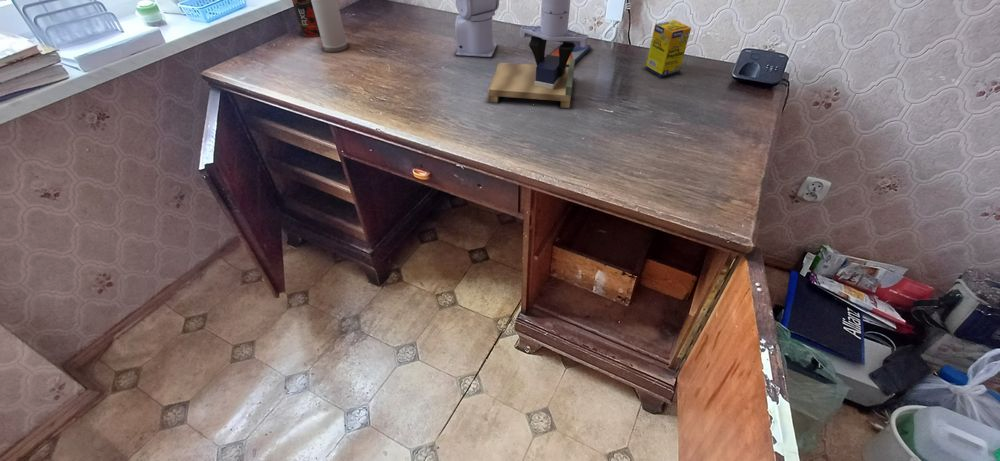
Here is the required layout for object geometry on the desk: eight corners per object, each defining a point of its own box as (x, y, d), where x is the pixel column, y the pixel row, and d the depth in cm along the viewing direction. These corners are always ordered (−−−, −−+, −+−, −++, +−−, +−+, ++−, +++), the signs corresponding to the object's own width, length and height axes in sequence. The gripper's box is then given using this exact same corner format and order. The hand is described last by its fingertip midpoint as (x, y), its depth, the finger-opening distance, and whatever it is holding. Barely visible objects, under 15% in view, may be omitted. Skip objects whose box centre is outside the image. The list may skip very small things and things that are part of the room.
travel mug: (318, 50, 125) (295, -33, 111) (333, 41, 129) (313, -40, 116) (337, 54, 123) (317, -30, 109) (352, 45, 128) (334, -37, 114)
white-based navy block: (553, 89, 102) (554, 71, 99) (534, 85, 103) (535, 67, 100) (566, 72, 108) (567, 54, 105) (548, 69, 109) (549, 51, 106)
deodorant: (301, 37, 132) (284, -21, 121) (302, 30, 136) (286, -27, 125) (322, 35, 133) (307, -22, 122) (323, 28, 137) (308, -29, 126)
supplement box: (661, 78, 112) (672, 32, 105) (644, 68, 116) (654, 23, 108) (679, 73, 114) (692, 27, 107) (663, 63, 118) (673, 19, 110)
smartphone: (591, 49, 125) (591, 45, 124) (569, 69, 115) (569, 65, 115) (565, 44, 128) (566, 40, 127) (542, 63, 118) (542, 59, 117)
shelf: (488, 101, 104) (488, 80, 101) (499, 74, 114) (498, 54, 111) (569, 108, 102) (571, 86, 99) (572, 79, 112) (575, 59, 109)
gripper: (595, 8, 96) (587, 71, 105) (529, -1, 100) (527, 60, 109) (585, 19, 91) (578, 84, 100) (516, 9, 95) (515, 73, 105)
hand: (550, 73), depth 105 cm, fingers closed on white-based navy block, 4 cm apart
